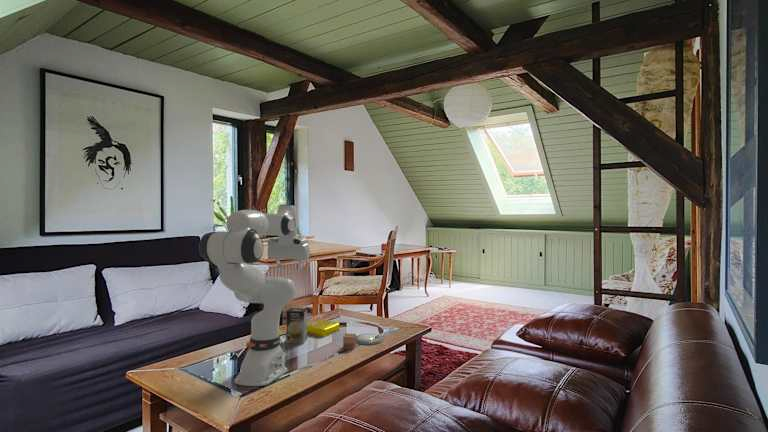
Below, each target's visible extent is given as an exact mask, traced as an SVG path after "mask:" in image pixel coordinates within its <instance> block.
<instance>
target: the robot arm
mask: <svg viewBox="0 0 768 432" xmlns="http://www.w3.org/2000/svg"><path fill="white" fill-rule="evenodd" d="M297 226H298V215H297V209H296V206H295V205H293V204H280V205H278V206H277V213H264V212H262V211H259V210H256V209H241V210H237V211H234V212H232V213H231V214H230V215H229V216H228V217H227V220H226V229H227V231H210V232H207V233H204V234H203V235H202V237H201V238H200V240H199V244H198V253H199V255H200V256H201V257H202V258H203V260H204V261H205V262H207V263H208V264H209V265H210V267H212V268H216V267H218V268H219V280H220V282H221V283H222V284H223V285H224V286H225V288H227V289H228V290H230V291H231V292H233V294H234V296H235V298H236V300H238V301H240V302H244V303H249V304H263V309H262V310H261V311H259V312H257V313H255V314H254V315H253V316H252V318H251V320H250V321H251V322H250V325H251V326H250V329H251V330H250V332H251V333H250V338H249V342H248V341H247V342H246V345H245V347H246V348H248V351H247V352H246V354H245V356H244V358H243V360H242V363H241V364H240V371H239V373H238V374H237V375H236V377H235V378H234V379H233V383H234V384H236V385H239V386H247V387H263V386H268V385H269V384H271V383H273V381H275V380H277V379H278V378H279V377H281V376H282V375H284V374H285V373H287V372H288V367H286V366H285V357H284V350H283V348H281V345H280V344H281V335H280V318H281V315H282V312H283V310H284V308H285V307H286V306H287V305H288V304H290V303H291V302H292V301H293V299H294V298H295V296H296V292H297V291H296V290H297V289H296V284H295V282H294V281H293V280H292V279H290V278H286V277H283V276H268V275H267V276H266V275H264V274H263V272H262V271H261V270H259V269H258V268H255V267H254V266H252V265H250V264H253V263H256V262H259V260H260V259H261V258H262V257H263V255H264V250H265V249H264V248H265V247H264V242H263V239H262V238H261V237H263V236H273V237H275V236H277V237H276V238H273V237H272V238H269V239H267V257H268V258H269V259H274V261H275V263H276V264H277V266H276V267H277V268H278V269H280V268H283V262H281V261H280V259H281V260H283V259H284V260H297V262H298V263H297V264H296V265H295V269H298V270H300V269H301V265H302V264H303V261H304V260H305V261H306V260H309V259H310V257H311V249H310V245H309V244H308V242H309V240H308V238H307V237H306V236H304V235H301V234H299V233H298V229H297Z"/></svg>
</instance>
